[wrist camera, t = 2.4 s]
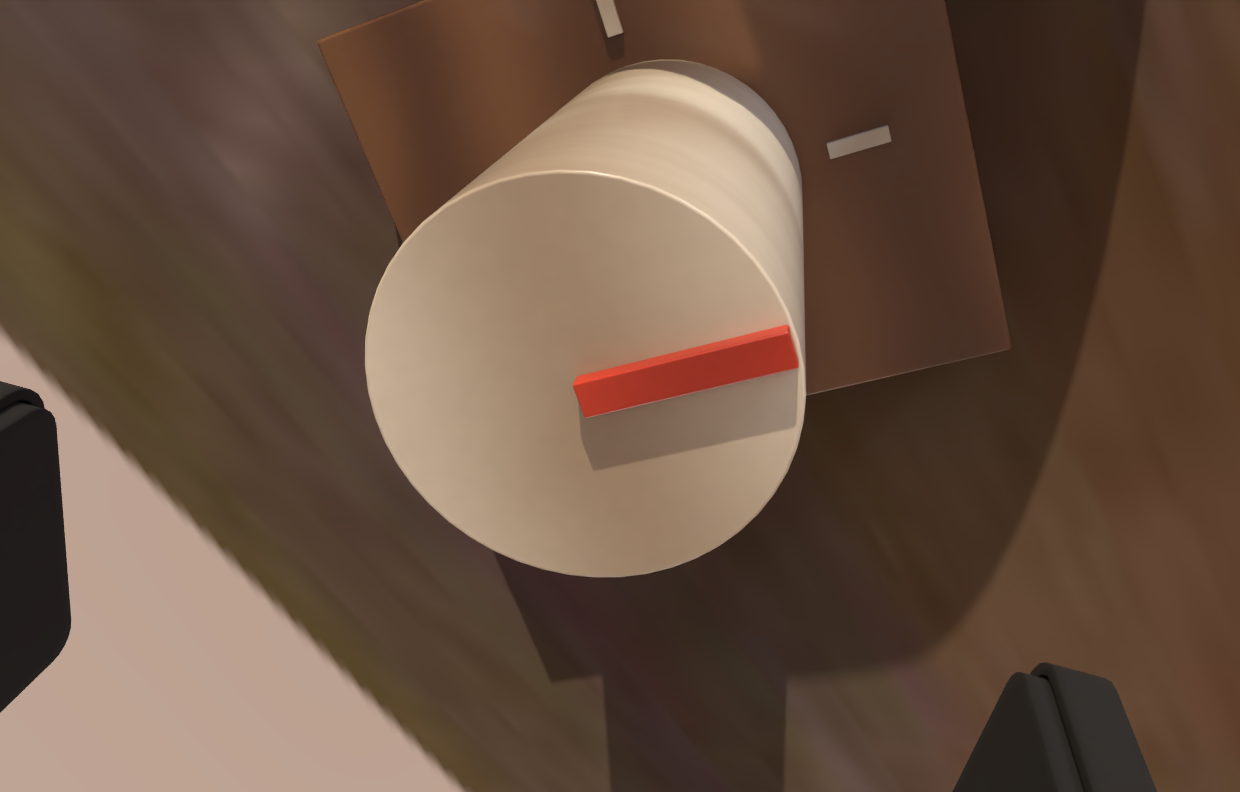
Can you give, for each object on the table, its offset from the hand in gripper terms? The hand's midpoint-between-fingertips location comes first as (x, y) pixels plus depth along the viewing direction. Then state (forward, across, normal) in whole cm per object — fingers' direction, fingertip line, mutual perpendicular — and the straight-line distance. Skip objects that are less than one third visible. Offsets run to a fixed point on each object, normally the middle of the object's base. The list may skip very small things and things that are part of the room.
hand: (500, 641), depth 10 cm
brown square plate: (+19, +1, 0) cm, 19 cm away
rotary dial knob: (+16, +1, 0) cm, 16 cm away
